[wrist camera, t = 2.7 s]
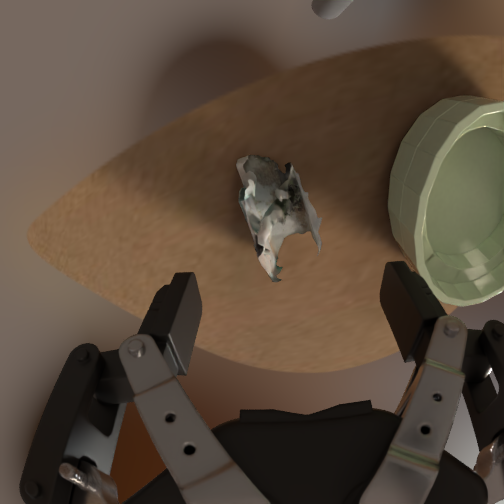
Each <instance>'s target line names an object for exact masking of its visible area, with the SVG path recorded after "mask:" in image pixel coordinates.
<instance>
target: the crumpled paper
mask: <svg viewBox="0 0 504 504" xmlns="http://www.w3.org/2000/svg"><path fill="white" fill-rule="evenodd" d="M236 166H237V169H238V172H239V175H240V178H241V180H242V183H243V186H244V188H241V190H240V191H239V198H238V199H239V204H240V206H241V208H242V211H243V214H244V216H245V220H246V222H247V223H248V225H249V228H250V231H251V233H252V237H253V241H254V247H255V250H256V252H257V257H258V260H259V261H260V263H261V265H262V266H263V268H264V269H265V270H266V271H267V273H268V275H269V277H270V278H271V280H272V282H278V281H281V279H278V278H277V276H276V275H277V274H279V273H280V271H281V269H282V267H279V266H277V265H276V262H277V259H278V251H279V249H280V247H281V244H282V242H283V239H284V238H285V237H286V236H288V235H291V234H295V233H300V234H304V233H306V232H307V231H311V233H312V236H313V239H314V240H315V242H316V243H317V245H318V249H319V251H318V254H319V252H320V250H321V245H322V242H321V238H320V235H319V233H318V230H319V227H320V224H321V220H322V218H317V214H316V211H315V209H314V208H313V206H312V205H311V203H310V201H309V199H308V192H304V190H303V188H302V186H301V181H300V178H299V174H297V173H296V172H295V170H294V169H293V165H292V164H291V162H290V163H287V164H286V165H285V167H286V172H285V174H284V173H282V172H281V171H280V170H279V169H278V164H277V163H276V162H275V161H274V160H270V158H269V157H261V156H258V155H256V156H255V155H248V156H246V157H243V158H240V159H238V160H237V163H236ZM317 256H318V255H317Z"/></svg>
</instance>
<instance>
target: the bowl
mask: <svg viewBox="0 0 504 504" xmlns="http://www.w3.org/2000/svg"><path fill="white" fill-rule="evenodd" d="M388 212H389V217H390V222H391V228H392V234H393V237H394V238H395V240H396V242H397V244H398V245H399V247H400V249H401V251H402V253H403V255H404V256H405V258H406V259H407V261H408V262H409V264H410V265H411V267H412V268H413V269H414V271H415V272H416V273H417V274H419V275H420V276H421V277H423V278H424V280H425V281H426V283H427V284H428V286H429V288H430V289H431V290H432V292H433V294H434V295H435V296H436V298H438V299H439V300H440V301H441V302H442V303H447V304H452V305H457V306H467V305H472V304H477V303H482V302H483V301H486V300H488V299H489V298H491V297H493V296H495V295H497V294H499V293H501V292H502V291H503V290H504V101H499V100H494V99H488V98H482V97H476V96H469V95H462V96H456V97H450V98H445V99H442V100H440V101H439V102H437V103H436V104H435V105H433V106H432V107H430V108H429V109H428V110H426V111H425V112H423V113H422V114H421V115H419V117H418V118H417V120H416V121H415V123H414V124H413V125H412V127H411V128H410V130H409V131H408V133H407V134H406V135H405V137H404V138H403V140H402V141H401V144H400V147H399V150H398V153H397V156H396V159H395V162H394V164H393V167H392V170H391V174H390V185H389V196H388Z"/></svg>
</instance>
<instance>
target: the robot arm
mask: <svg viewBox="0 0 504 504" xmlns="http://www.w3.org/2000/svg"><path fill="white" fill-rule="evenodd" d="M380 303H381V306H382V308H383V311H384V313H385V315H386V318H387V320H388V322H389V325H390V327H391V329H392V332H393V334H394V337H395V339H396V342H397V344H398V347H399V349H400V352H401V354H402V357H403V359H404V362H405V363H406V362H411V361H415V363H416V366H415V368H414V370H413V373H412V375H411V378H410V380H409V383H408V385H407V387H406V390H405V392H404V394H403V397H402V399H401V401H400V403H399V405H398V407H397V409H396V411H395V412H394V413H391V412H389V411H385V410H381V409H375V408H372V405H371V401H370V400H366V401H360V402H353V403H346V404H339V405H337V406H334V407H331V408H328V409H325V410H322V411H319V412H316V413H313V414H309V415H303V414H297V413H290V412H285V411H279V410H274V409H269V410H240V418H237V419H234V420H230V421H227V422H225V423H222V424H220V425H218V426H216V427H215V428H213V429H211V430H210V428H209V427H208V426H207V424H206V423H205V421H204V420H203V418H202V417H201V415H200V414H199V413H198V411H197V410H196V408H195V406H194V405H193V403H192V402H191V401H190V399H189V397H188V396H187V394H186V393H185V391H184V389H183V388H182V386H181V384H180V383H179V381H178V380H177V378H176V377H177V375H187V371H188V367H189V363H190V359H191V355H192V351H193V347H194V343H195V339H196V335H197V331H198V327H199V323H200V319H201V315H202V301H201V297H200V293H199V289H198V285H197V281H196V276H195V274H194V272H182V273H175V275H174V277H173V279H172V281H171V284H170V285H164V286H163V287H162V288H161V289H160V290H159V291H158V292H157V293H156V295H155V297H154V299H153V303H151V305H150V307H149V310H148V312H147V314H146V316H145V318H144V320H143V322H142V325H141V327H140V329H139V331H138V333H137V334H136V335H133V336H130V337H129V338H127V339H126V340H125V341H123V343H122V344H121V345H120V348H119V349H117V350H112V351H106V352H100V351H99V350H98V348H97V347H96V346H95V345H94V344H90V343H86V344H82V345H79V346H78V347H76V348H75V349H74V350H73V351H72V352H71V353H70V355H69V357H68V359H67V361H66V363H65V365H64V367H63V369H62V371H61V373H60V375H59V378H58V380H57V382H56V384H55V386H54V389H53V391H52V393H51V395H50V398H49V400H48V403H47V405H46V407H45V410H44V412H43V415H42V418H41V420H40V423H39V425H38V428H37V430H36V433H35V436H34V439H33V442H32V445H31V448H30V451H29V454H28V457H27V460H26V463H25V467H24V470H23V474H22V477H21V481H20V487H19V488H20V494H21V497H22V499H23V501H24V502H25V503H26V504H119V502H118V499H117V497H118V494H117V487H116V484H115V482H114V480H113V479H112V478H111V477H110V476H109V475H110V470H111V466H112V461H113V456H114V452H115V448H116V444H117V439H118V435H119V431H120V428H121V424H122V420H123V416H124V412H125V409H126V405H127V402H135V405H136V407H137V409H138V412H139V414H140V416H141V418H142V420H143V422H144V425H145V426H146V429H147V431H148V432H149V435H150V437H151V439H152V441H153V442H154V444H155V447H156V449H157V450H158V452H159V454H160V456H161V458H162V460H163V461H164V463H165V465H166V467H167V468H166V469H165V470H164V471H163V472H162V473H161V474H159V475H158V476H157V477H155V478H154V479H153V480H152V481H150V482H149V483H148V484H147V485H145V486H144V487H143V488H142V489H140V490H139V491H138V492H136V493H135V494H134V495H133V496H131V497H130V498H128V499H127V500H126V501H124V502H123V503H122V504H495V503H496V502H498V501H500V500H503V499H504V324H503V323H501V322H499V321H497V320H490V321H488V322H487V323H486V324H485V326H484V327H483V329H482V330H472V329H467V328H466V326H465V324H464V323H463V322H462V321H461V320H460V319H458V318H456V317H454V316H448V315H447V314H446V312H445V310H444V309H443V307H442V306H441V304H440V302H439V301H438V299H437V298H436V296H435V295H434V294H433V292H432V290H431V289H430V288H429V286H428V284H427V283H426V281H425V280H424V278H423V277H421V276H420V275H419V274H417V273H416V272H411V270H410V269H409V267H408V266H407V264H406V263H405V262H404V261H395V262H387V263H386V265H385V269H384V275H383V280H382V285H381V289H380ZM491 370H493V372H494V374H495V377H496V379H497V381H498V384H499V392H498V395H497V393H496V390H495V388H494V386H493V383H492V380H491V378H490V376H489V373H490V372H491ZM461 393H462V394H463V396H464V399H465V402H466V405H467V409H468V412H469V415H470V418H471V421H472V425H473V428H474V432H475V435H476V439H477V443H478V447H479V451H480V453H479V455H478V457H477V462H476V465H475V466H474V469H473V470H472V469H471V468H469V467H468V466H466V465H465V464H464V463H462V462H461V461H459V460H458V459H457V458H455V457H454V456H452V455H451V454H450V453H448V452H447V451H445V450H444V448H445V445H446V443H447V440H448V437H449V434H450V431H451V428H452V425H453V421H454V418H455V415H456V411H457V408H458V404H459V400H460V397H461Z"/></svg>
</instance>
